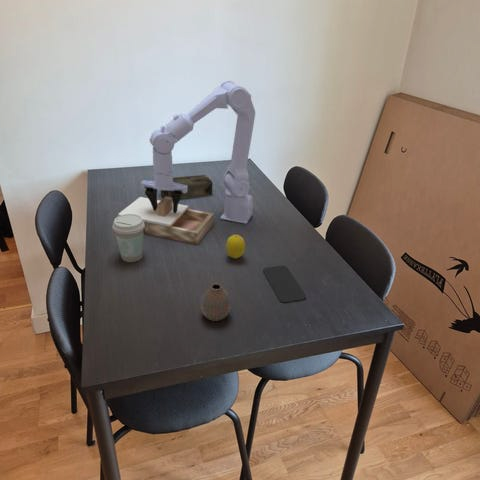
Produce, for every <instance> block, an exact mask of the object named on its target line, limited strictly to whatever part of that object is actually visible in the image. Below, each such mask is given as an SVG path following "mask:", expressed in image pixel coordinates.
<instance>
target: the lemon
mask: <svg viewBox="0 0 480 480" xmlns="http://www.w3.org/2000/svg"><path fill="white" fill-rule="evenodd" d="M245 250H246V242H245V239H244V238H243V237H242V236H241V235H239V234H238V233H237V234H232V235H230V236H229V237H228V238H227V240H226V244H225V251H226V253H227V255H228V256H229V257H230V258H233V259H238V258H240V257H242V256H243V255H244V254H245Z"/></svg>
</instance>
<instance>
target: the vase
mask: <svg viewBox="0 0 480 480" xmlns="http://www.w3.org/2000/svg"><path fill="white" fill-rule="evenodd" d="M200 301H201V302H200V308H201V309H200V310H201V312H202V314H203V316H204V317H205V318H206V319H208V320H210V321H212V322H218V321H222V320H223V319H225V318H226V317H227V316H228V314H229V313H230V311H231V298H230V295H229V292H228V291H227V290H225V289H224V288H223V286H222V285H221V283H212V284H211V285H210V287H209V288H207V290H205V291H204V293H203V294H202V297H201V300H200Z"/></svg>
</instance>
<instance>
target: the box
mask: <svg viewBox="0 0 480 480" xmlns="http://www.w3.org/2000/svg"><path fill="white" fill-rule="evenodd" d="M144 224H145V227H144V229H143V230H144V234H147V235H150V236H155V237H160V238H165V239H170V240H175V241H178V242H185V243H189V244H193V245H199V243H200V242H201V241H202V239H203V238H204V237H205V236H206V234H207V233H208V232H209V230H210V229H211V228H212V226H213V225H214V213H213V212H207V211H201V210H197V209H196V210H195V209H191V208H188V209H187V210H186V211H185V212H184V213H183V214H182V215H181V216H180V217H179V218H178V219H177V220H176V221H175V223H174V224H173V225H172V226H171V227H168V226H163V225H158V224H153V223H148V222H144Z"/></svg>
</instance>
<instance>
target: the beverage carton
mask: <svg viewBox="0 0 480 480" xmlns="http://www.w3.org/2000/svg"><path fill="white" fill-rule="evenodd" d="M173 182H175V183H179V184H183V185H187V188H188V191H187V193H182V195H181V197H180V200H182V199H190V198H191V199H192V198H193V199H194V198H201V197H206V196H208V197H209V196H213V181H212V180H211V178H210V176H208V175H207V174H201V175H199V174H198V175H188V176H178V177H177V176H176V177H173ZM159 191H160V194H161V196H162V198H165V197H171V198H172V194H173V192H174V191H168V190H159Z"/></svg>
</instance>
